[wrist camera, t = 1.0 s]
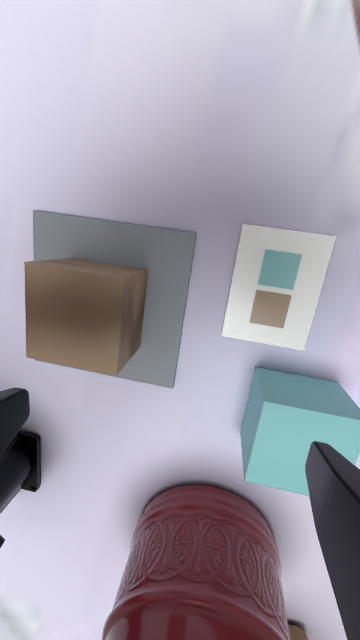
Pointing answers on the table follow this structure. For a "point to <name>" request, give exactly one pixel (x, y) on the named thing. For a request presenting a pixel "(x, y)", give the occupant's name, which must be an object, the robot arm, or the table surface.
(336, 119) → the table surface
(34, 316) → the walnut block
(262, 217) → the table surface
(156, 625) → the canister
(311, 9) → the table surface
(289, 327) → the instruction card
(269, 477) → the teal block
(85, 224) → the mat
